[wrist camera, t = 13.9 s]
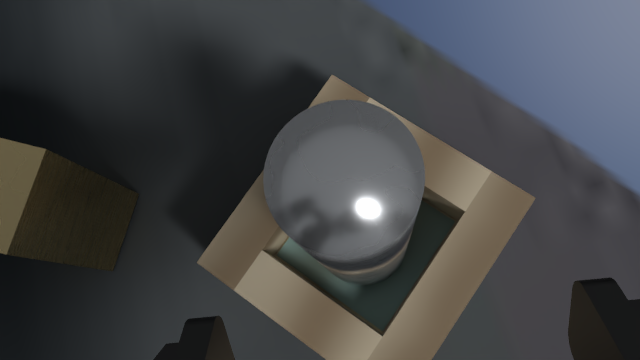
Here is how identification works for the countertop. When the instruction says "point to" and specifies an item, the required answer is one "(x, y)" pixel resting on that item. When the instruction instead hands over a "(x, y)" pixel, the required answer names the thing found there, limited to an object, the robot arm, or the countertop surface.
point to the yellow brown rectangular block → (60, 209)
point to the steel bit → (346, 187)
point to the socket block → (398, 289)
